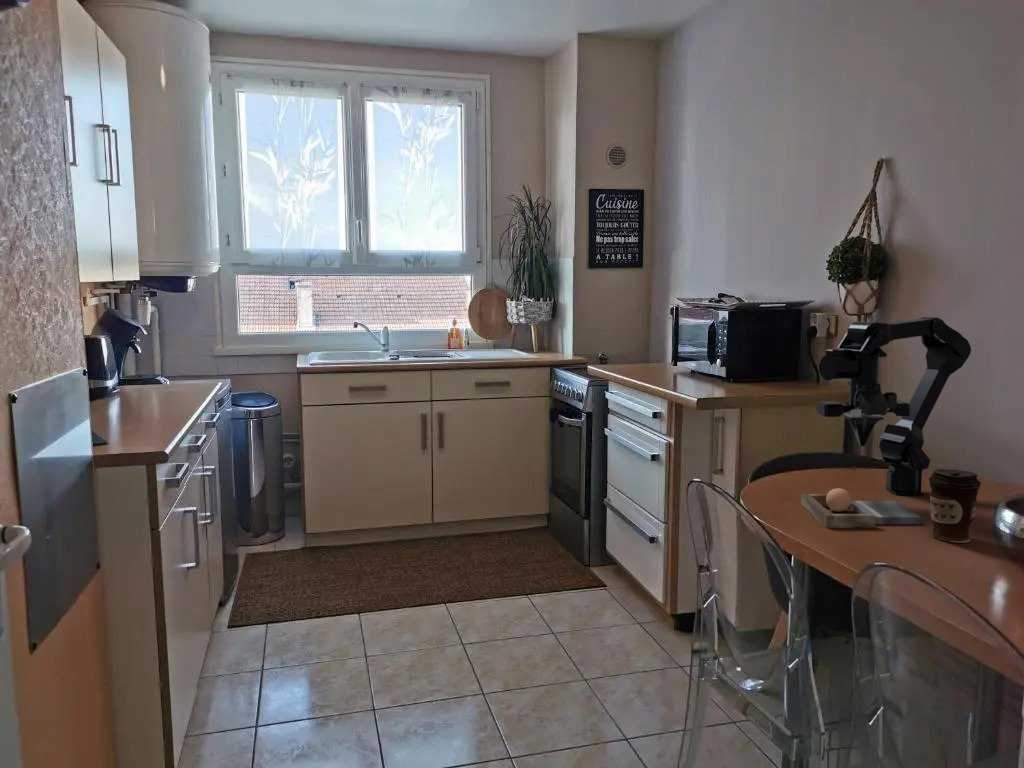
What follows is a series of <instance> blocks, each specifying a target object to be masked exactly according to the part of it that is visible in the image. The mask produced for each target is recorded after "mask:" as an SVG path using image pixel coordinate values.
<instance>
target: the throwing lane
mask: <svg viewBox="0 0 1024 768" xmlns="http://www.w3.org/2000/svg"><path fill="white" fill-rule="evenodd" d="M827 494H828V493H815V494H814V493H801V495H800V497H801V498H800V505H802V506H801V507H802V508H803V509H805V508H806V509H807V510H806V509H805V510H806V511H807V512H808V511H809V512H810V513H811V514H812V515H811V514H810V513H809V512H808V513H809V514H810V515H811V516H813V517H814V518H815V519H816V520H817V521H818V523H820V524H821V525H822V526H824V527H825V528H827V529H829V528H830V529H833V528H834V529H837V528H838V529H839V528H841V529H842V528H843V529H850V528H851V529H854V528H855V527H859V528H858V529H861V528H860V527H862V529H864V528H866V529H867V528H868V529H869V528H870V529H871V528H872V529H873V528H876V525H921V524H922V516H920V515H918V513H917V512H914V511H913V510H911V509H909V508H908V507H907V506H905V505H903V504H901V503H900V502H898V501H897V500H851V505H850V507H849V508H850V510H851V511H852V512H853V511H854V512H853V513H832V512H831V511H830V510H828V509H827V508H825V507H828V508H830V507H829V506H828V505H827V502H826V496H827ZM823 506H824V507H823ZM849 508H848V509H849ZM856 513H857V514H856ZM852 527H853V528H852ZM855 529H856V528H855Z"/></svg>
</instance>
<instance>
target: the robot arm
mask: <svg viewBox="0 0 1024 768" xmlns="http://www.w3.org/2000/svg"><path fill="white" fill-rule="evenodd" d="M916 337H920V338H921V343H922V346H924V347H925V348H926V350H927V351H926V353H925V360H926V362H925V363H926V369H925V371H924V373H923V375H922V377H921V378H920V381H919V383H918V385H917V387H916V389H915V391H914V393H913V395H912V397H911V398H910V401H909V403H908V402H905V401H902V400H899V399H898V395H897V393H896V392H894V391H893V392H890V391H889V392H887V391H886V392H885V393H884V392H883V393H882V389H881V387H882V386H881V383H879V370H880V369H879V367H880V366H879V363H880V362H879V361H880V358H886V357H887V356H888V354H887V353H886V352H885V351H884V350H883V349H882V348H881V347H883V346H886V345H888V344H890V342H893V341H895V340H903V339H909V338H916ZM837 345H838V346H837V347H836V348H835V349H831V348H830V349H826V350H825V355H823V356H822V358H820V361H819V364H818V372H819V375H820V376H821V377H822V379H824V380H826V381H839V380H840V381H841V380H848V384H847V386H848V387H849V398H847V404H842V403H840V402H838V401H835V400H828V401H827V400H825V401H824V400H823V401H822V400H821V401H819V402H818V403H817V405H816V413H817V414H819V415H820V416H822V417H825V418H837V417H838V418H839V417H841V416H842V417H843V418H845V419H847V421H848V423H849V424H850V427H851V428H852V431H853V433H854V436H855V439H856V440H857V443H858V445H859V447H865V446H866V444H867V441H868V439H869V437H870V435H871V432H872V430H873V428H874V427H875V425H876V424H877V423H878V422H880V421H883V420H885V419H884V418H885V417H883V416H886V415H887V413H892V414H893V415H894V416H895V417H901V418H900V420H899V421H898V422H896V423H895V424H894V423H887V424H886V425H885V428H884V431H883V433H882V435H880V436H879V439H880V441H879V444H878V447H879V449H880V452H881V456H882V457H881V458H882V460H883V463H884V464H888V470H886V478H885V479H886V481H885V482H886V483H885V484H886V485H885V486H884V489H885V490H888V491H890V492H891V493H893V494H895V495H899V496H900V495H901V496H905V495H906V496H907V495H914V496H915V495H925V494H926V493H925V491H924V490H922V488H923V487H922V485H923V484H922V483H923V471H924V470H926V469H928V468H929V466H930V464H931V459H930V457H929V456H928V454H927V453H925V451H924V450H923V446H924V444H925V441H924V440H925V439H924V433H923V432H924V431H923V430H924V428H925V425H926V423H927V421H928V419H929V417H930V415H931V414H932V411H933V409H934V407H935V405H936V403H937V401H938V400H939V397H940V395H941V393H942V392H943V389H944V388H945V385H946V383H947V381H948V379H949V377H950V376H951V375H953V374H954V373H955V372H956V371H959V370H960V369H961V368H962V367H963V366H964V365H965V363H966V361H967V360H968V358H969V357H970V355H971V352H972V347H971V344H970V342H969V340H968V339H967V338H965V337H964V336H963V335H962V333H960V332H959V331H957V330H955V329H954V328H952V327H951V326H949V325H948V324H946V322H945V321H944V320H943V319H941V318H939V317H933V316H932V317H931V316H929V317H928V316H922V317H920V318H916V319H915V318H913V319H907V320H906V319H905V320H899V321H891V322H886V323H885V322H876V321H875V322H873V321H872V322H871V321H853V322H852V323H850V325H849V327H848V328H847V331H846V333H845V334H844V336H843V337H842V339H841V341H840V342H839V344H837Z"/></svg>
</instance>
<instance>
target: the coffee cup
mask: <svg viewBox="0 0 1024 768" xmlns="http://www.w3.org/2000/svg"><path fill="white" fill-rule="evenodd" d="M928 481H929V483H928V484H929V487H930V491H931V492H930V494H929V498H930V499H929V506H930V519H931V521H932V527H933V528H932V529H933V530H932V533H931V534H932V537H933V538H936V539H938V540H939V541H941V540H942V541H945V542H949V543H958V544H959V543H961V544H965V543H969V542H971V540H972V539H971V536H970V534H969V532H970V531H969V530H970V527H971V525H972V523H973V521H975V515H976V511H977V506H978V504H977V496H978V494H979V492H980V491H979V490H980V487H981V483H982V482H981V481H980V480H979V479H978V474H977V473H975V472H972V471H968V470H962V469H946V468H937V469H934V470H933V472H932V474H931V475H930V476H929V478H928Z"/></svg>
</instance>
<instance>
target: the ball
mask: <svg viewBox="0 0 1024 768" xmlns="http://www.w3.org/2000/svg"><path fill="white" fill-rule="evenodd" d="M826 494H827V496H826V502H827V505H828V506H829V507H828V508H830V510H832V511H834V512H840V513H841V512H845V511H847V510H848V509H849V507H850V505H851V501H852V496H851V495H850V493H849V492H848V491H847V490H845V489H843V488H839V487H837V488H836V487H835V488H833V489H831V490H829V491H828V493H826Z"/></svg>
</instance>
